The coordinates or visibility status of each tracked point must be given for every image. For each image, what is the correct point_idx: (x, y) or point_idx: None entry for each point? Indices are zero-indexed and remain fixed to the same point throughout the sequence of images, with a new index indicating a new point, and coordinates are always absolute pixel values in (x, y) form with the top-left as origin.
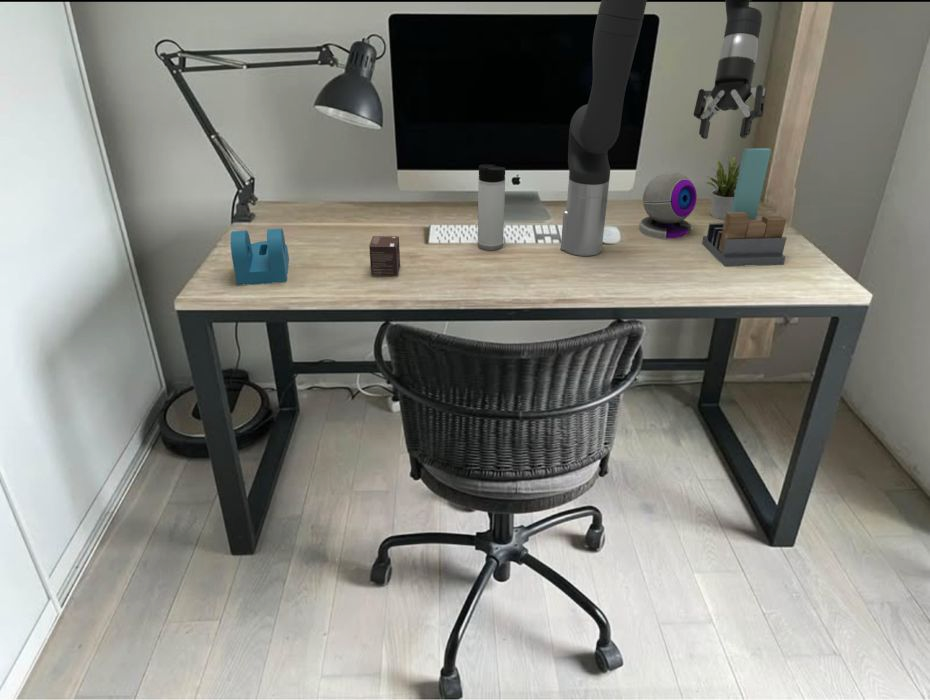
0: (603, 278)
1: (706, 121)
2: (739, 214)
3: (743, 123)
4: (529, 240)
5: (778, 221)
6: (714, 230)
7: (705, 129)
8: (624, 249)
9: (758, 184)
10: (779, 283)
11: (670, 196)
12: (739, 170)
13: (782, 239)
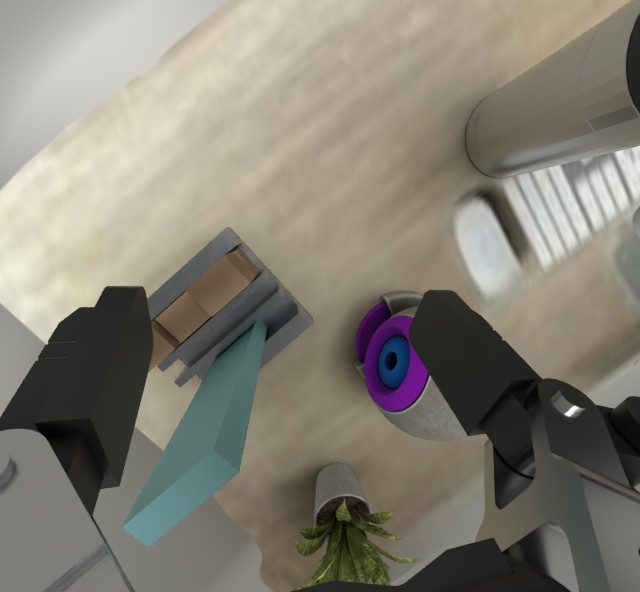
0: (410, 3)
1: (498, 368)
2: (213, 287)
3: (88, 359)
4: None
5: None
6: (281, 293)
7: (454, 325)
8: (430, 190)
9: (191, 411)
10: (106, 208)
11: None
12: (325, 572)
13: None
